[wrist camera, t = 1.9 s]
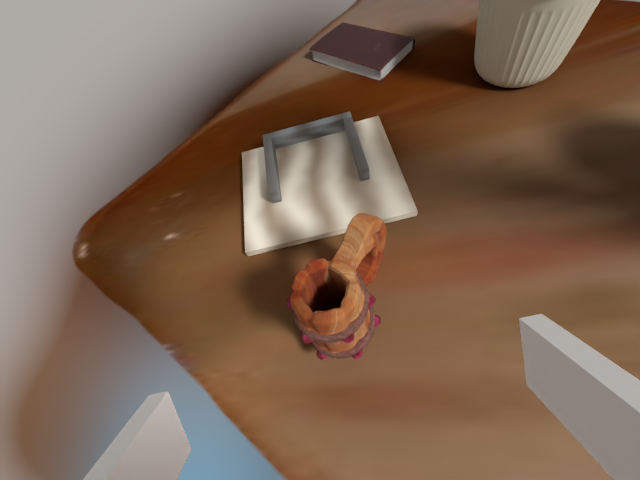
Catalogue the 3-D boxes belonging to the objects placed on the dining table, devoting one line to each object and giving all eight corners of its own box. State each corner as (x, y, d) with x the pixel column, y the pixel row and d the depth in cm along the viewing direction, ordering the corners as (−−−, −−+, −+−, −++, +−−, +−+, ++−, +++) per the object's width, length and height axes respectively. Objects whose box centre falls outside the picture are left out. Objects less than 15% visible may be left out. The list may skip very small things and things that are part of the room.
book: (345, 34, 76) (343, 19, 73) (415, 50, 67) (415, 34, 64) (311, 62, 72) (308, 48, 70) (380, 83, 64) (380, 68, 61)
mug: (352, 382, 36) (331, 358, 23) (297, 344, 39) (253, 305, 27) (409, 279, 41) (418, 214, 28) (356, 254, 44) (342, 185, 32)
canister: (589, 57, 55) (684, -118, 38) (537, 116, 51) (616, -51, 33) (492, 34, 64) (531, -117, 46) (439, 83, 59) (460, -63, 42)
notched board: (378, 121, 57) (377, 103, 54) (417, 215, 46) (419, 200, 42) (244, 157, 59) (236, 142, 56) (248, 256, 48) (238, 244, 45)
